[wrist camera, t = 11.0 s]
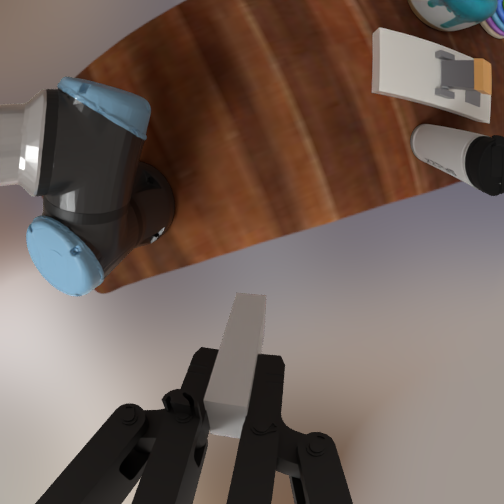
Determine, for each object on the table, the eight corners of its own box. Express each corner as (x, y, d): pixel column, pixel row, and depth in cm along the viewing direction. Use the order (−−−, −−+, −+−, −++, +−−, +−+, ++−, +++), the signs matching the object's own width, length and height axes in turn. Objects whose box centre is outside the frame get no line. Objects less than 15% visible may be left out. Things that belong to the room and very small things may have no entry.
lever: (437, 86, 29) (483, 90, 21) (437, 59, 27) (482, 58, 19) (446, 90, 29) (491, 95, 21) (446, 63, 27) (491, 64, 19)
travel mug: (440, 121, 35) (519, 137, 17) (443, 161, 38) (518, 198, 20) (407, 121, 36) (479, 135, 19) (411, 162, 39) (479, 201, 21)
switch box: (371, 92, 35) (383, 90, 30) (372, 33, 31) (383, 23, 25) (476, 121, 33) (496, 124, 28) (478, 68, 28) (497, 66, 23)
